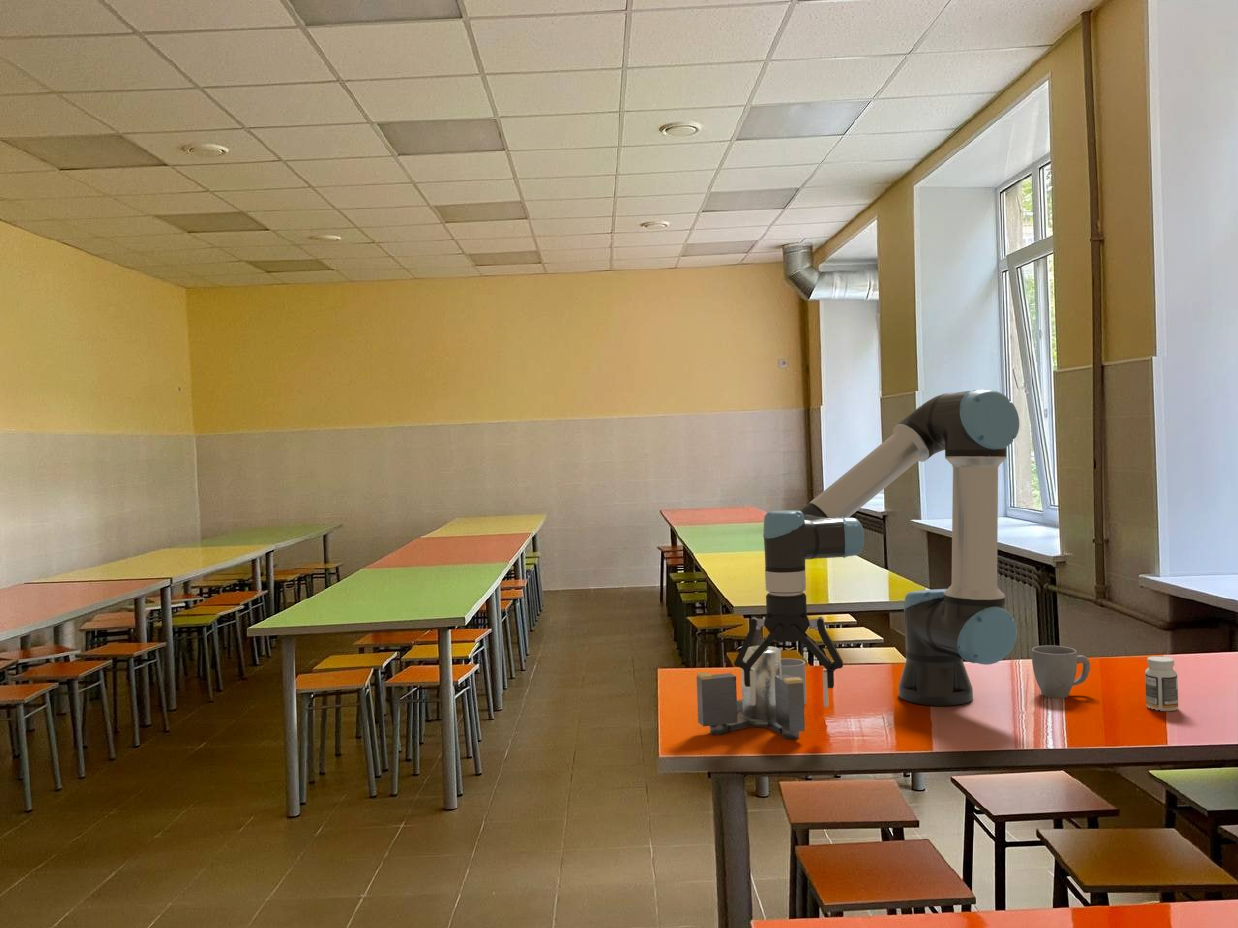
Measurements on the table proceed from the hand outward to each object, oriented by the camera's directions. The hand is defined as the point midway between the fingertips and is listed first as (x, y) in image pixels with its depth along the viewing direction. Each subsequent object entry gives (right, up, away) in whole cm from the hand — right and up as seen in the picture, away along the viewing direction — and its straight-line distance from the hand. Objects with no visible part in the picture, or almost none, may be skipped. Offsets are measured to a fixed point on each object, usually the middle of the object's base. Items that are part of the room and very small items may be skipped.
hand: (789, 704), depth 187 cm
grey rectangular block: (0, -6, 0) cm, 6 cm away
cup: (+3, -6, +24) cm, 24 cm away
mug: (+62, -4, +23) cm, 66 cm away
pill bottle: (+76, -3, +10) cm, 77 cm away
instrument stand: (-4, -6, +11) cm, 13 cm away
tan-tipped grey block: (-13, -7, +4) cm, 15 cm away
